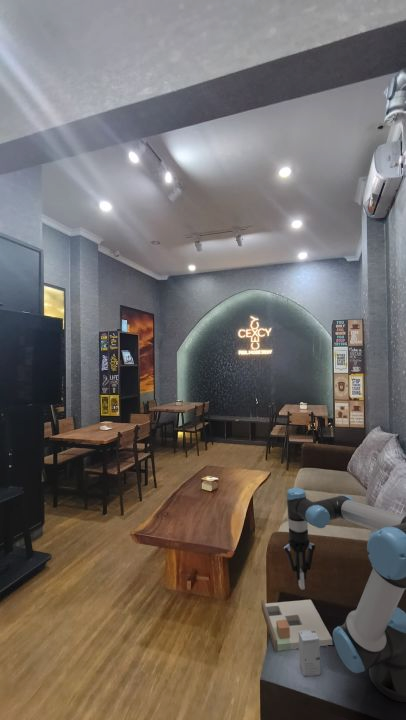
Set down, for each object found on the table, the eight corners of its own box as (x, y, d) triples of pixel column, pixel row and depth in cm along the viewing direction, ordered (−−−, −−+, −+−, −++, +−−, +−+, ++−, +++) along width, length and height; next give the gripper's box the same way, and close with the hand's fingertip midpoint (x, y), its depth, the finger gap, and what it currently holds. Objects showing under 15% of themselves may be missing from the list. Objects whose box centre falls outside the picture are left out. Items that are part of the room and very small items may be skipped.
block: (289, 638, 131) (289, 627, 131) (279, 638, 131) (279, 628, 131) (286, 629, 135) (286, 619, 135) (276, 630, 135) (276, 620, 135)
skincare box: (304, 677, 117) (302, 641, 118) (299, 665, 122) (297, 631, 122) (321, 674, 118) (319, 639, 118) (316, 663, 122) (314, 629, 123)
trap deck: (332, 645, 130) (332, 635, 130) (275, 651, 128) (274, 640, 128) (310, 605, 152) (310, 596, 152) (261, 609, 150) (261, 600, 150)
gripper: (310, 522, 144) (313, 580, 143) (279, 525, 143) (283, 583, 142) (317, 531, 136) (321, 591, 136) (285, 533, 135) (288, 594, 135)
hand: (301, 587), depth 139 cm, fingers closed
